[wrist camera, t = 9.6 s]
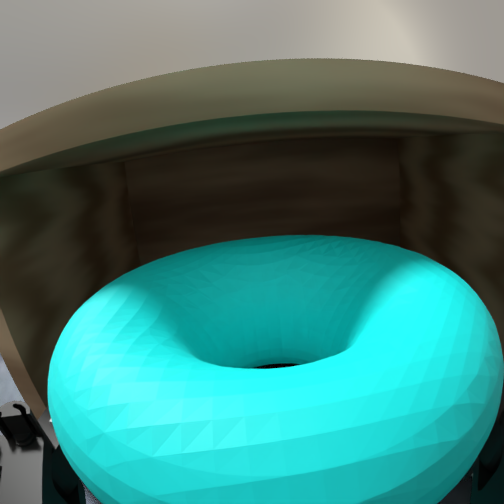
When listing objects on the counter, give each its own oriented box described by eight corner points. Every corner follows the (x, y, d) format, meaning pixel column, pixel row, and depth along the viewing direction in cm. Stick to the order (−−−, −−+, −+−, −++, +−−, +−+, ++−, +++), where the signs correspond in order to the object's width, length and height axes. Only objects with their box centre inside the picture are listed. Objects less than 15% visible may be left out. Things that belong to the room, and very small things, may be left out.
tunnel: (502, 425, 11) (562, 103, 7) (62, 458, 13) (-48, 155, 8) (403, 300, 28) (404, 122, 23) (145, 321, 29) (114, 147, 25)
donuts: (381, 216, 12) (617, 342, 2) (365, 409, 14) (441, 567, 5) (118, 244, 11) (-78, 441, 2) (173, 433, 14) (152, 610, 4)
